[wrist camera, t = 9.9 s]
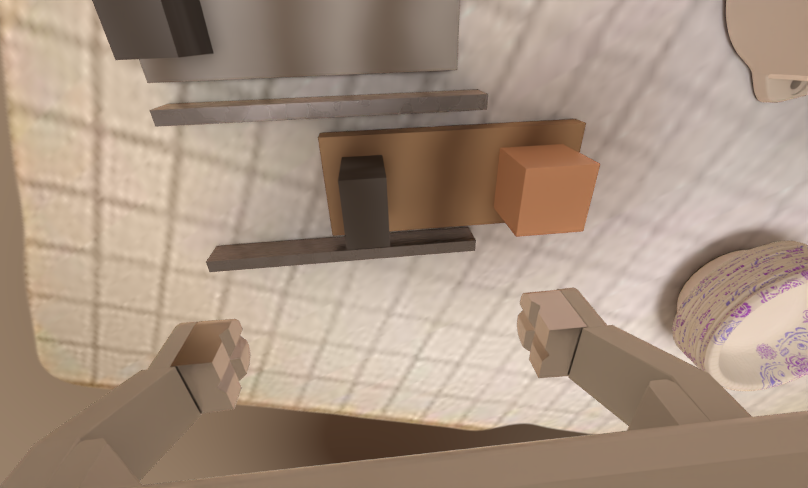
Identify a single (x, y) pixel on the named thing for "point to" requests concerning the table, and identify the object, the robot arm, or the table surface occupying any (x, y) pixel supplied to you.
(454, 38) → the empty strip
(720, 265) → the paper bowls
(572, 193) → the clay block
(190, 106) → the lane rails
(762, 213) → the table surface
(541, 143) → the block strip
